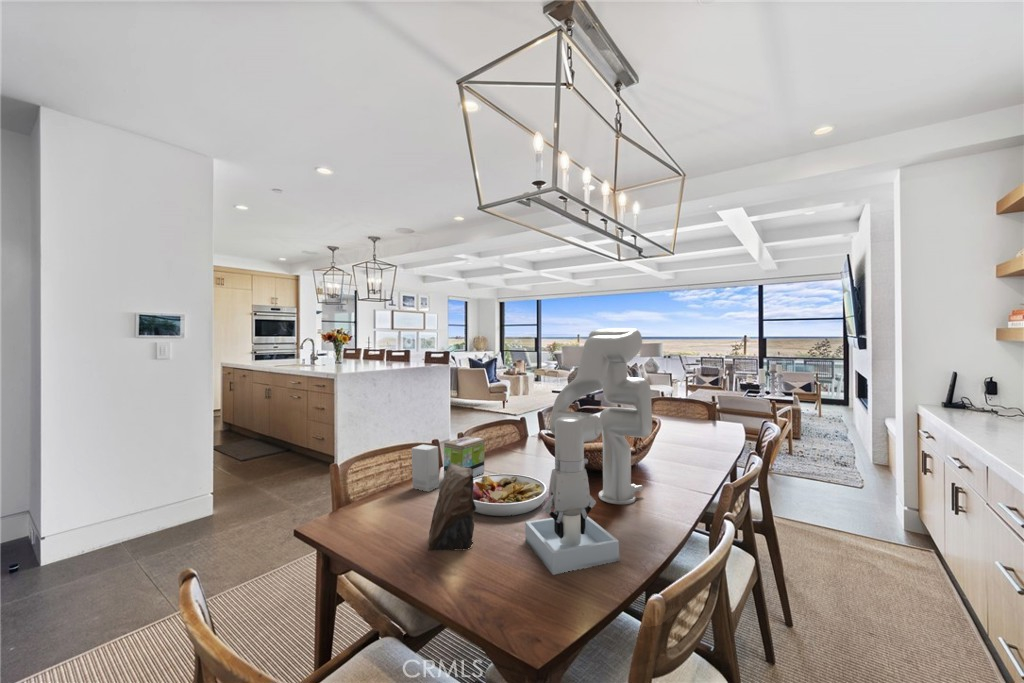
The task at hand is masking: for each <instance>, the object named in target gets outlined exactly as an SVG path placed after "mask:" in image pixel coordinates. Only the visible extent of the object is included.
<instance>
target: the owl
mask: <svg viewBox="0 0 1024 683" xmlns="http://www.w3.org/2000/svg"><path fill="white" fill-rule="evenodd" d="M473 478H474V477H473V470H472V469H471V468H465V467H460V466H457V465H456V464H454V463H449V466H448V469H447V471H446V474H445V477H444V476H443V479H442V482H441V485H440V487H439V492H438V497H437V501H436V504H435V507H434V510H433V514H432V517H431V518H432V519H431V523H430V529H429V531H428V541H427V542H428V549H427V551H428V552H429V551H456V550H455V549H462V550H461V551H464V550H463V549H467V550H469V549H468V548H470V547H471V545H472V544H473V545H474V541H473V537H474V536H473V535H474V530H475V520H474V518H475V517H474V515H475V510H476V506H475V503H474V498H473V486H474V484H473V482H474V481H473ZM472 541H473V542H472Z"/></svg>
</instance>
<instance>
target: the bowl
mask: <svg viewBox="0 0 1024 683" xmlns="http://www.w3.org/2000/svg"><path fill="white" fill-rule="evenodd" d="M473 481H474V482H473V484H474V486H473V498H474V503H475V506H476V510H475V512H476V513H477V514H481V515H487V516H493V517H511V515H512V516H517V515H522V514H526V513H529V512H531V511H533V510H535V509H537V508H539V507H540V506H541V505H542V504H543V503H544V501H545V499H546V497H547V485H546V484H545V483H544V482H543V481H541V480H540V479H538V478H535V477H532V476H529V475H525V474H524V475H523V474H514V473H494V474H493V473H492V474H486V475H481V476H480V475H479V476H475V477H473ZM475 512H474V513H475Z"/></svg>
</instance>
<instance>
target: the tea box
mask: <svg viewBox="0 0 1024 683" xmlns="http://www.w3.org/2000/svg"><path fill="white" fill-rule="evenodd" d="M485 446H486V443H485V438H482V437H474V436H469V435H467V436H463V437H460V438H457V439H453V440H448V441H445V442H444V447H443V450H444V451H443V478H444V477H445V474H446V471H447V469H448V466H449V463H454V464H456V465H457V466H460V467H465V468H471V469H472V470H473V478H476V477H478V476H480V475H482V473H483V474H484V473H485V452H486V451H485ZM479 474H480V475H479ZM477 475H478V476H477Z"/></svg>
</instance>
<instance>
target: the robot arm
mask: <svg viewBox="0 0 1024 683" xmlns="http://www.w3.org/2000/svg"><path fill="white" fill-rule="evenodd" d="M642 345H643V338H642V334H641V332H640V331H639V330H638V329H637V328H601V329H600V328H599V329H594V330H592V331H590V332H589V334H588V338H586V340H585V342H584V344H583V349H582V352H581V356H580V360H579V364H578V368H577V372H576V373H577V374H576V376H575V378H574V379H572V381H570V382H569V383H568V384H567V385H566V386H564V387H563V388H562V389H561V391H560V392H559V393H558V395H557V397H555V400H554V403H553V407H552V409H551V410H552V411H551V415H550V420H549V429H550V432H551V433H552V435H554V468H553V469H552V470H551V474H550V480H549V486H548V487H549V489H548V499H547V501H546V502H545V504H544V506H542V510H543V511H544V512H545V513H546V514H547V515H549V516H550V518H553V519H554V530H555V533H556V534H557V535H558V536H559V537H560V538H563V523H562V522H561V519H562V516H563V511H567V510H573V509H580V508H581V534H585V519H586V518H587V516H588V515H589V514H590V512H591V511H592V509H593V507H595V505H596V504H597V500H595V499H594V497H593V496H592V495H591V494H590V485H589V477H588V473H587V469H586V467H585V466H586V465H587V464H588V463H589V459H588V458H585V453H584V452H585V447H584V446H585V445H584V444H585V443H587V442H593V441H595V440H597V439H598V438H599V436H600V435H601V436H602V437H601V438H602V490H600V491H599V492H598V498H599V499H600V500H601V501H603V502H604V503H605V502H606V503H608V504H612V505H629V504H632V503H633V504H634V502H636V499H637V497H636V494H635V493H636V492H642V491H644V487H643V485H642V484H639V485H638V484H637V485H636V484H635V483H632V454H631V453H632V450H631V446H630V444H629V442H628V440H627V439H626V437H631V438H640V439H644V438H648V437H649V436H650V435H651V434H652V430H653V413H652V412H653V409H652V391H651V390H652V389H651V385H650V383H649V381H648V380H647V379H645V378H643V377H632V376H629V374H628V363H629V362H630V361H632V360H633V359H634V358H635V357H636V356H637V355H638V354H639V353H640V350H641V349H642ZM599 390H602V394H603V396H602V397H603V399H604V401H605V402H606V403H609V404H612V405H621V406H634V407H635V408H629V407H618V406H610V407H609V406H608V407H606V408H604V409H603V410H601V412H600V413H599V416H598V415H596V414H594V413H591V412H589V413H588V412H581V411H580V412H579V411H571V410H570V411H568V409H569V407H570V406H571V405H572V403H574V402H575V401H577V400H578V399H579V398H582V397H584V396H587V395H590V394H592V393H595V392H597V391H599ZM552 507H554V509H553V511H552V509H551V508H552Z"/></svg>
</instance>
